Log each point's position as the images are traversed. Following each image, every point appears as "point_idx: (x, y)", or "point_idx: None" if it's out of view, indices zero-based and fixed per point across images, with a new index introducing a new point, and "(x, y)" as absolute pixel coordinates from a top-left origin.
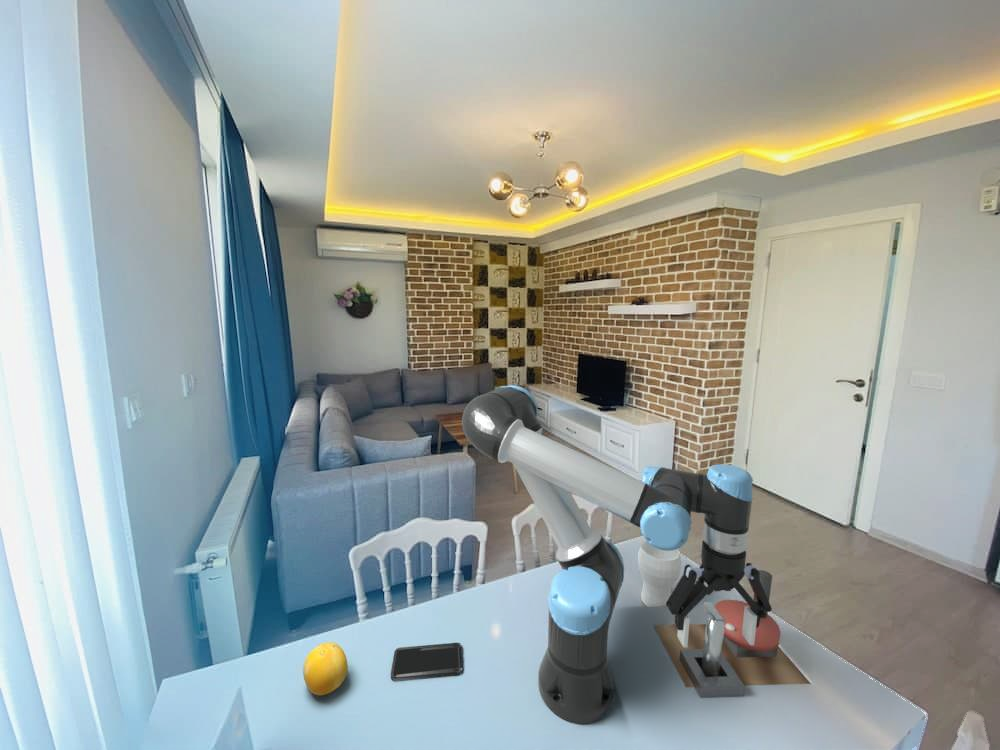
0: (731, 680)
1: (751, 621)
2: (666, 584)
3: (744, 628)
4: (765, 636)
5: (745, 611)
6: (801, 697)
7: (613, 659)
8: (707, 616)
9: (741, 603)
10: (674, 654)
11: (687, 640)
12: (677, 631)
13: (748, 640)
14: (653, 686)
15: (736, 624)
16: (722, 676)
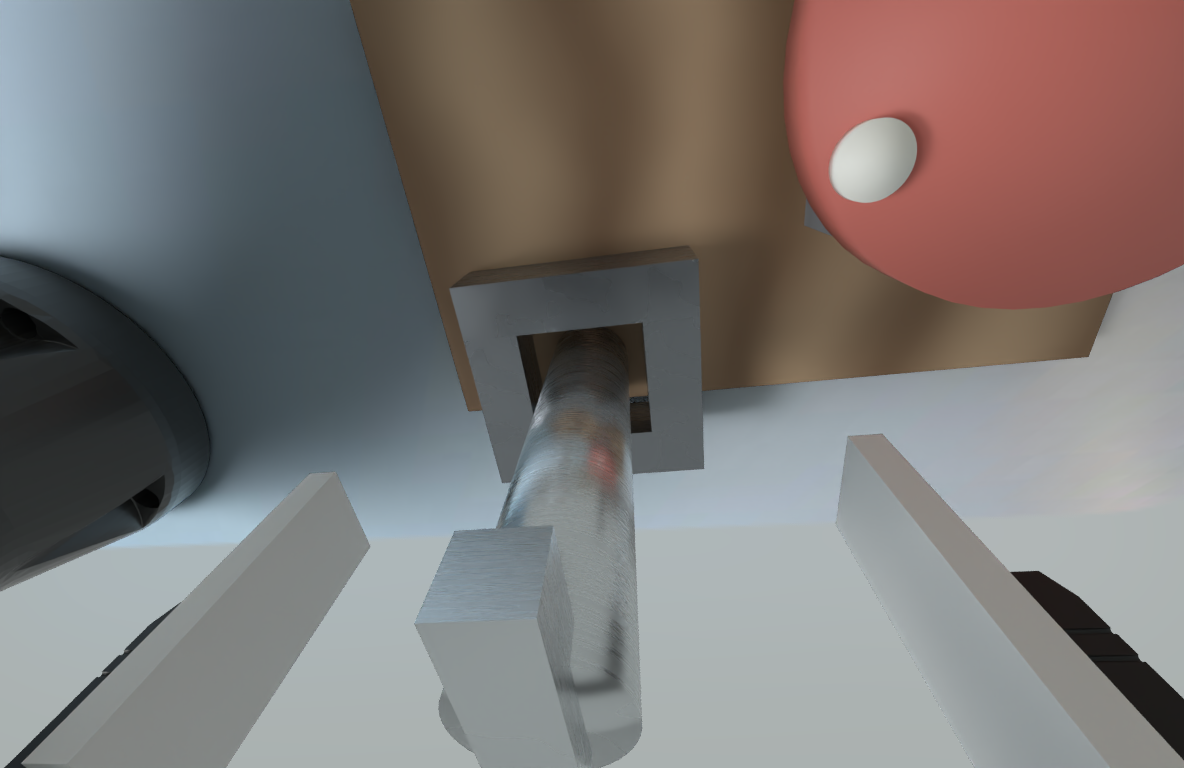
0: (656, 449)
1: (972, 736)
2: None
3: (886, 512)
4: (1117, 235)
5: (1040, 709)
6: (972, 380)
7: (169, 254)
8: (439, 706)
9: None
10: (451, 236)
11: (337, 592)
12: (508, 18)
13: (847, 516)
14: (355, 376)
15: (967, 100)
16: (646, 375)
